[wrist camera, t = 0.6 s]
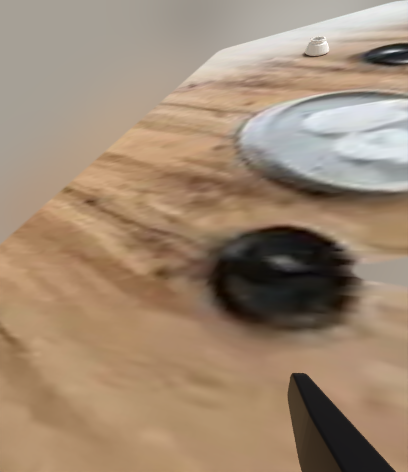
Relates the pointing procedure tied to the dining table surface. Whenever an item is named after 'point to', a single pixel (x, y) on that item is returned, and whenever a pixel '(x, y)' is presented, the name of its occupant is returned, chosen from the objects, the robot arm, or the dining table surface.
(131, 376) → the dining table surface
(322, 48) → the white upside-down bowl
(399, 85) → the dining table surface
